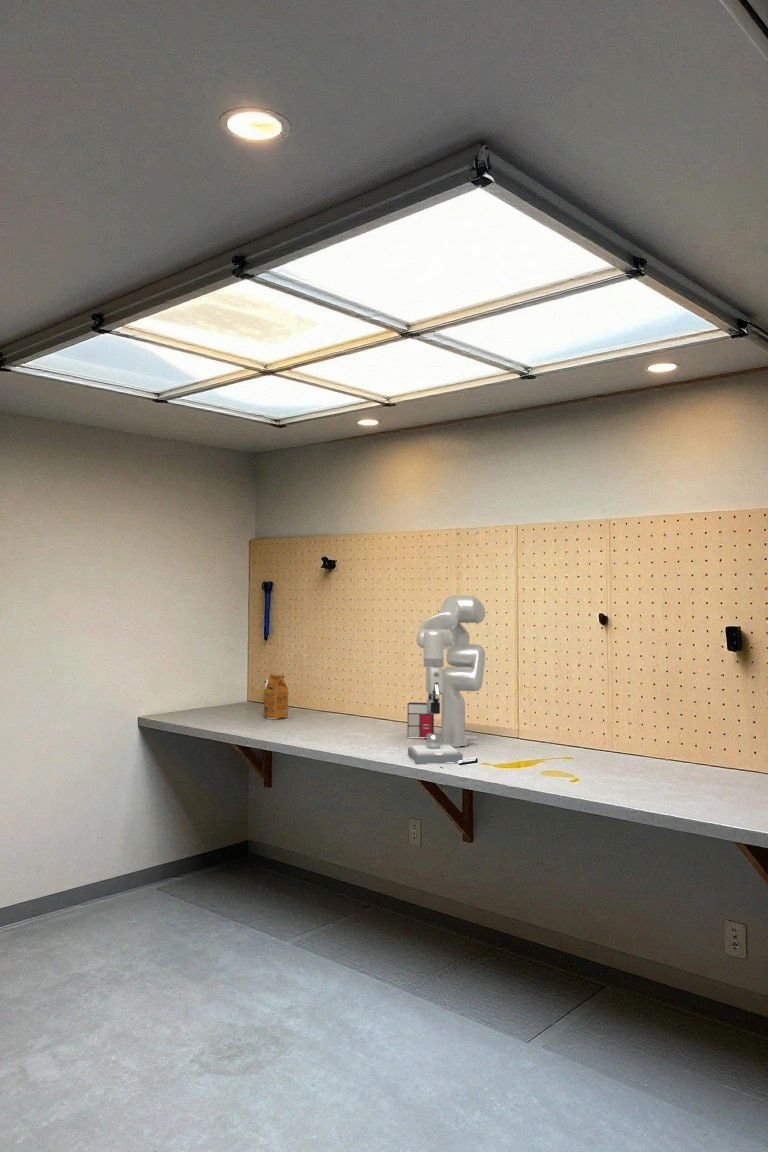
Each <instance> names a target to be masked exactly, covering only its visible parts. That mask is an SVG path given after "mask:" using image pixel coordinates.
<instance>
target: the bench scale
mask: <svg viewBox="0 0 768 1152" xmlns="http://www.w3.org/2000/svg"><path fill="white" fill-rule="evenodd" d="M408 755H409V756H410V757H411V758H412V759H413V760H414V761H415V762H414V761H413V760H412V759H411V758H410V757H409V756H408ZM407 756H408V757H409V758H410V759H411V760H412V761H413V762H414V763H415V764H416V765H428V764H427V763H445V762H457V761H459V760H463V761H464V754H462V752H460V751H459V750H457V748H456V747H452V746H451V745H440V748H439V749H428V748H427V744H425V745H424V744H422V745H421V744H417V745H416V744H415V745H414V744H413V745H410V747H408V748H407Z"/></svg>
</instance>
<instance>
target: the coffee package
mask: <svg viewBox="0 0 768 1152" xmlns="http://www.w3.org/2000/svg"><path fill="white" fill-rule="evenodd" d="M284 678H285V675H284V674H273V673H270V674H269V677H268V681H267V682H266V686H265V688H264V690H265V691H264V698H263V718H264V717H268V718H281V719H285V718H284V717H286V718H288V717H289V688H288V686H287V684H286V682H285V679H284ZM268 718H267V719H268Z"/></svg>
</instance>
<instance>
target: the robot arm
mask: <svg viewBox="0 0 768 1152" xmlns="http://www.w3.org/2000/svg"><path fill="white" fill-rule="evenodd" d="M438 611H439V612H438V613H437V614H434V615H433V616H430V617H429V618H427V619H425V620H424V621H423V622H422V623H421V625H420V627H419V628H418V631H417V635H416V644H417V646H418V647H420V648H421V649H423V668H424V669H425V692H426V693H427V699H432V703H431V713H432V714H434V715H439V713H440V714H441V739H440V745H451V746H452V747H453V748H461V747H460V746H465V747H468V746H469V745H470V741H477V740H478V735H469V734H468V733H466V701H465V698H464V696H463V695H462V693H460V692H462V691H463V692H478V691H480V690H481V688H482V685H483V679H484V672H485V663H486V652H485V649H484V647H483V646H482V645H480V644H478V643H476V644H474V643H470V640H471V639H470V638H471V637H470V633H469V632H468V630H467V629H466V628H465V627H464V626H463V624H479V623H482V622H483V621H484V620H485V616H486V609H485V606H484V604H483V603H482V602H481V600H480V599H478V598H477V597H476V596H473V595H450V596H447V597H446V598H445V599H444V601H443V603H442V605H441V608H440V610H438ZM461 623H462V624H461ZM445 650H446V662H447V664H448V665H449V666H448V667H447V666H446V667H445V666H444V662H445V661H444V660H445V659H444V656H445V655H444V652H445ZM442 668H443V669H442ZM440 695H441V702H440V703H439V699H440ZM467 745H468V746H467Z"/></svg>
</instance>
